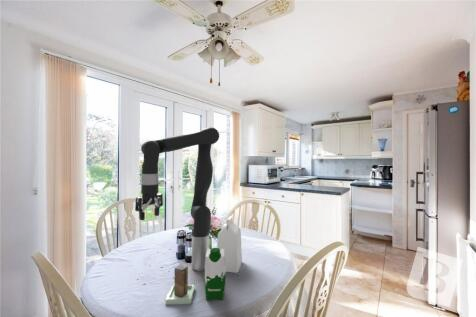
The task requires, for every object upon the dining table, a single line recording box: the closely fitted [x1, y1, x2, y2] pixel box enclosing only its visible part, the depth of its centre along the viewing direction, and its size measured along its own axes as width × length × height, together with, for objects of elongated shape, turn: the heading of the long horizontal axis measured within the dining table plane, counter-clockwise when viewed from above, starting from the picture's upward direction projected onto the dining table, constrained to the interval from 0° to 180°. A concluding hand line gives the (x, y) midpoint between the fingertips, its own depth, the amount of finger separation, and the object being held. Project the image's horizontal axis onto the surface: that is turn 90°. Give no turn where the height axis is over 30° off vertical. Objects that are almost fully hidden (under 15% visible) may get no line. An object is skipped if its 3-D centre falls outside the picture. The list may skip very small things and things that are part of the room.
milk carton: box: [204, 247, 227, 301], centre depth 92 cm, size 9×9×20 cm
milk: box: [216, 216, 243, 274], centre depth 117 cm, size 12×12×26 cm
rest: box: [165, 284, 196, 305], centre depth 91 cm, size 10×10×2 cm
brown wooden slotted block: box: [174, 264, 189, 298], centre depth 91 cm, size 4×4×11 cm
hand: (149, 217), depth 102 cm, fingers open, 8 cm apart
